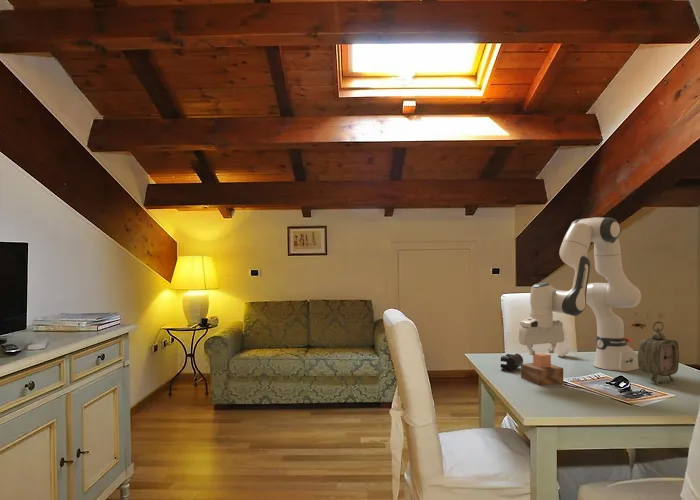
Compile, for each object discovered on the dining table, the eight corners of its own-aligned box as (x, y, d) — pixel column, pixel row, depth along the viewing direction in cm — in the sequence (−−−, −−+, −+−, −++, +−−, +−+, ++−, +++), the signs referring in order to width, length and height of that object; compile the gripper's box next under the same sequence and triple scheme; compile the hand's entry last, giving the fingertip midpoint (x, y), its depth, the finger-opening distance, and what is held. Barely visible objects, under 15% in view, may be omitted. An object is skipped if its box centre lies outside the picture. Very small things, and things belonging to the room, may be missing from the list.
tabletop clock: (657, 386, 205) (657, 324, 205) (636, 381, 213) (635, 321, 213) (679, 381, 212) (678, 321, 212) (657, 377, 220) (657, 318, 220)
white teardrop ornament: (572, 358, 258) (572, 322, 257) (557, 358, 258) (556, 322, 257) (566, 354, 265) (566, 320, 265) (551, 354, 265) (550, 320, 265)
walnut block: (544, 375, 223) (544, 361, 223) (563, 382, 212) (563, 368, 212) (520, 377, 220) (520, 363, 220) (538, 385, 209) (538, 370, 208)
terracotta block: (543, 364, 219) (543, 352, 219) (550, 366, 214) (550, 355, 214) (533, 365, 218) (533, 353, 218) (540, 367, 213) (540, 355, 213)
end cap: (515, 373, 229) (515, 358, 229) (500, 370, 233) (500, 356, 233) (523, 368, 237) (523, 354, 237) (508, 366, 241) (508, 352, 241)
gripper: (557, 318, 222) (557, 350, 222) (516, 321, 216) (516, 354, 216) (567, 321, 216) (567, 353, 216) (525, 324, 210) (525, 357, 210)
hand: (541, 354), depth 216 cm, fingers open, 8 cm apart
